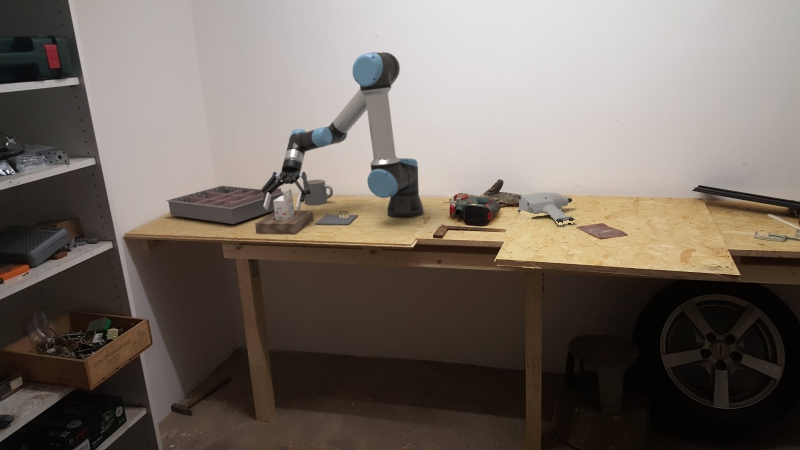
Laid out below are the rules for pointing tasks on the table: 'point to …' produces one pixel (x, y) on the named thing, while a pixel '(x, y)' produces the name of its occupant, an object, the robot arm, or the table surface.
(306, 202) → the coffee mug
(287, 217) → the ink cartridge box
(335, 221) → the rubber mat
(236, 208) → the organizer tray
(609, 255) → the table surface
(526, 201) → the impact wrench
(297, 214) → the cartridge holder
